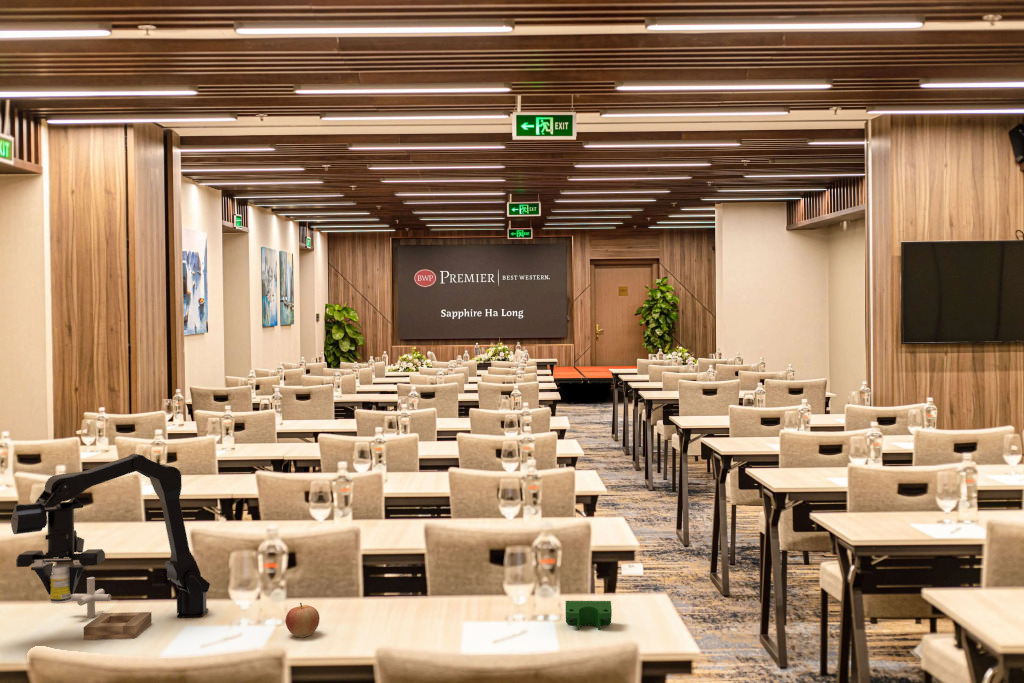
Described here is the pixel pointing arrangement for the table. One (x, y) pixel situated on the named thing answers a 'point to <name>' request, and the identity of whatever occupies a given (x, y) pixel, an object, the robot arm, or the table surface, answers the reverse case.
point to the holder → (117, 625)
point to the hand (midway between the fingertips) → (61, 594)
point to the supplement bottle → (60, 584)
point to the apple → (302, 620)
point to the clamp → (588, 613)
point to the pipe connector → (91, 597)
